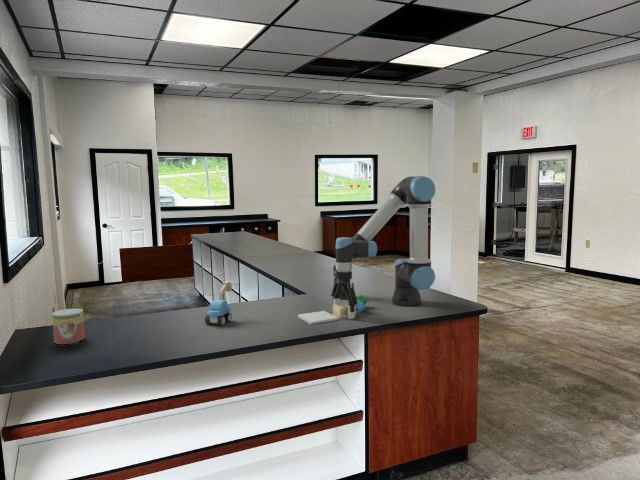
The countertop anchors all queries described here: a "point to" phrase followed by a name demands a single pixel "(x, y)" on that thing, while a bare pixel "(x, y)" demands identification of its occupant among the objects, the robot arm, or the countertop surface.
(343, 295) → the coffee jar
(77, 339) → the canned food
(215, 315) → the toy excavator
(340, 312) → the maple brick
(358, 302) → the building blocks
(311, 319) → the plate
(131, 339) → the countertop surface
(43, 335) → the countertop surface
